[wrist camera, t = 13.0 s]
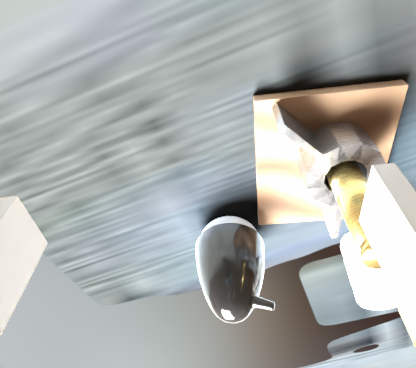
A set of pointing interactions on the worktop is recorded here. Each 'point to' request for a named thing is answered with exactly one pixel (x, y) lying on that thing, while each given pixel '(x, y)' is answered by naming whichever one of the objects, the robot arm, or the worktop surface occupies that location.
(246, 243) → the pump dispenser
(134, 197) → the worktop surface
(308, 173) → the white piece
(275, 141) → the mount board
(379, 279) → the white cup
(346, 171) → the pin
